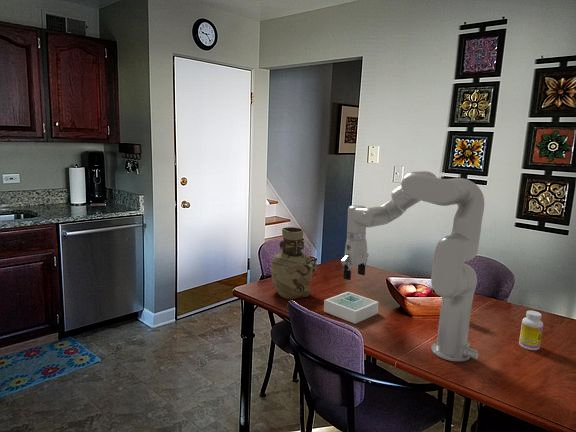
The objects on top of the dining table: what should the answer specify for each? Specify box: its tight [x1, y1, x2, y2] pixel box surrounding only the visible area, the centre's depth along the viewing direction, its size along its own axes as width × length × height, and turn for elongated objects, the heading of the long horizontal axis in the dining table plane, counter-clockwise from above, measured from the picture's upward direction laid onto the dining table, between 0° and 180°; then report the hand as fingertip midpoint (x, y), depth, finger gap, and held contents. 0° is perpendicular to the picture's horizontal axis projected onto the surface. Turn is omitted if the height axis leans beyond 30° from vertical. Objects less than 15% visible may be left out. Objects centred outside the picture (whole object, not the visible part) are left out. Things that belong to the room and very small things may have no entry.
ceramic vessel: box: [270, 226, 318, 300], centre depth 198 cm, size 19×21×30 cm
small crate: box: [340, 295, 363, 310], centre depth 180 cm, size 6×6×5 cm
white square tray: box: [323, 291, 380, 325], centre depth 181 cm, size 16×16×5 cm
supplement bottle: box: [518, 310, 544, 351], centre depth 155 cm, size 7×7×13 cm
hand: (354, 276), depth 178 cm, fingers open, 9 cm apart
